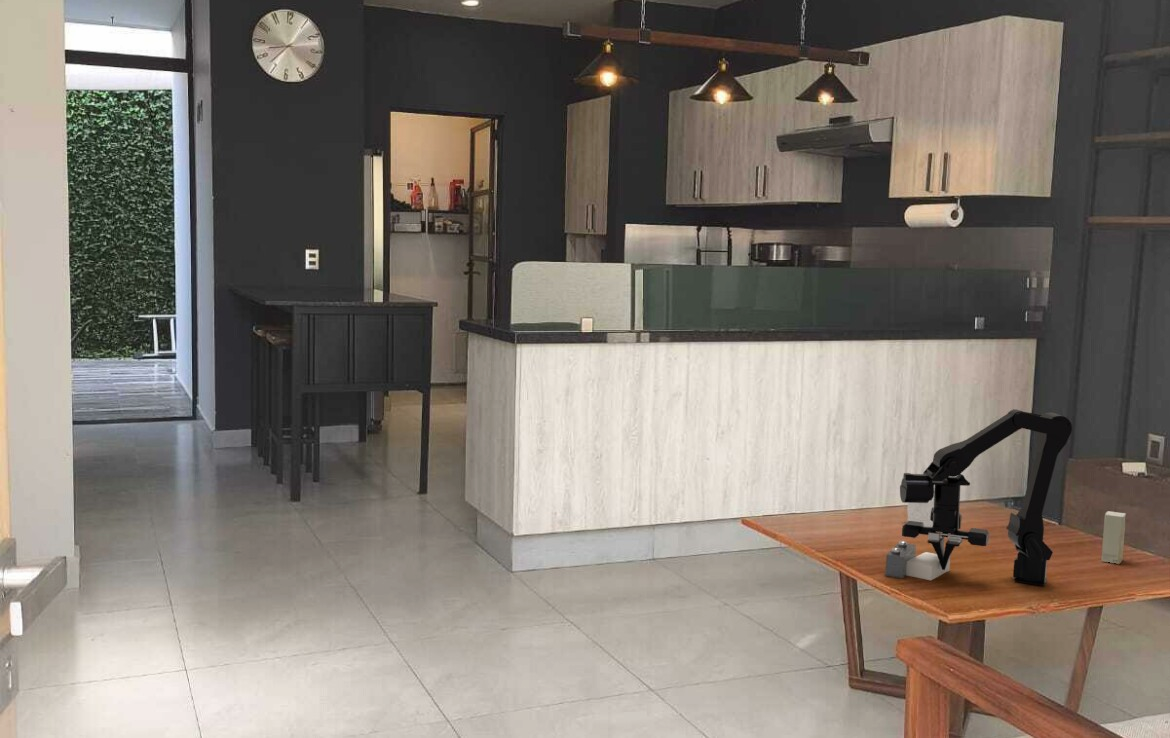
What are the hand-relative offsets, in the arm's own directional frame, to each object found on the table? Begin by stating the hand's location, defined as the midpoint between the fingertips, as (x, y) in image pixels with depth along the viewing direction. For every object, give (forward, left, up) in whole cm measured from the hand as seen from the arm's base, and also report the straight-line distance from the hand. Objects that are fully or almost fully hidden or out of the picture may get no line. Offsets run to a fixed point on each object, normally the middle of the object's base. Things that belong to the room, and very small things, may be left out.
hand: (943, 569), depth 254 cm
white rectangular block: (+4, -2, -2) cm, 5 cm away
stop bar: (+10, 0, -2) cm, 10 cm away
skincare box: (-34, -43, -2) cm, 55 cm away
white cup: (+15, -52, -2) cm, 54 cm away
